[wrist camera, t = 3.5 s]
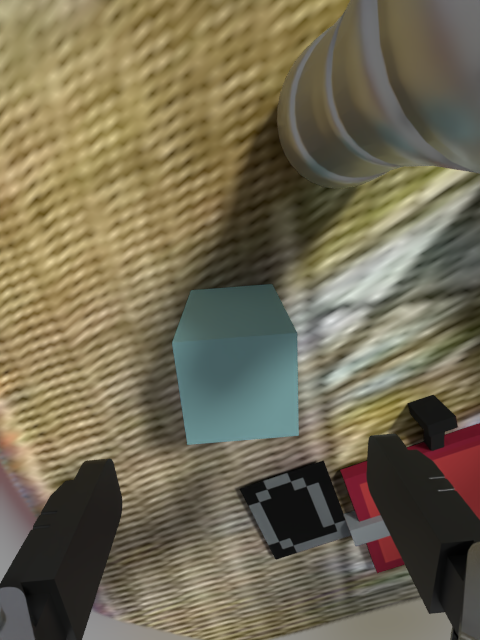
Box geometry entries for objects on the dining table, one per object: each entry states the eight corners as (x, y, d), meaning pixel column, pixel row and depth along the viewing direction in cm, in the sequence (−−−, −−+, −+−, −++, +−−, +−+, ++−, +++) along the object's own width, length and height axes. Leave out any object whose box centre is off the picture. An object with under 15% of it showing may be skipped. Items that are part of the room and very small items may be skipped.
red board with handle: (230, 461, 26) (290, 581, 31) (231, 492, 23) (297, 617, 29) (637, 321, 24) (628, 475, 29) (689, 337, 21) (669, 504, 26)
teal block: (191, 290, 21) (172, 342, 14) (272, 283, 21) (297, 332, 14) (199, 362, 23) (187, 444, 16) (275, 356, 23) (298, 435, 16)
